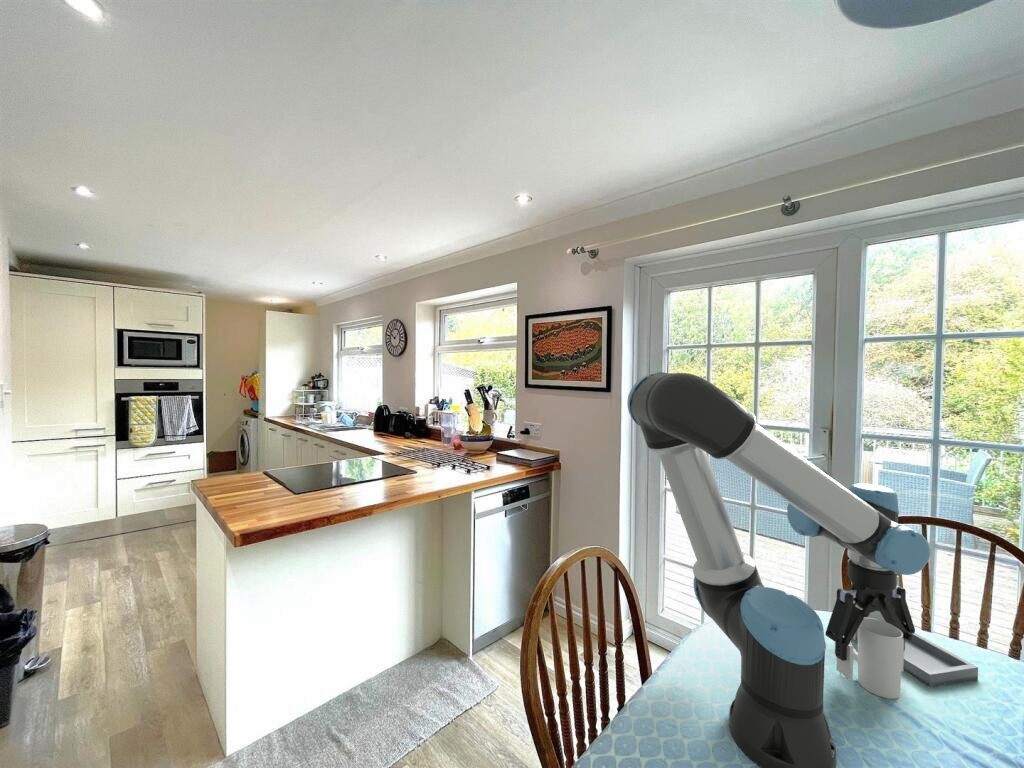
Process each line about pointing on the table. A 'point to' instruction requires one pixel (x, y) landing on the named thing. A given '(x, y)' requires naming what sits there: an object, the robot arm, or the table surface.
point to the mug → (879, 657)
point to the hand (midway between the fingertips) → (869, 670)
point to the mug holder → (931, 660)
